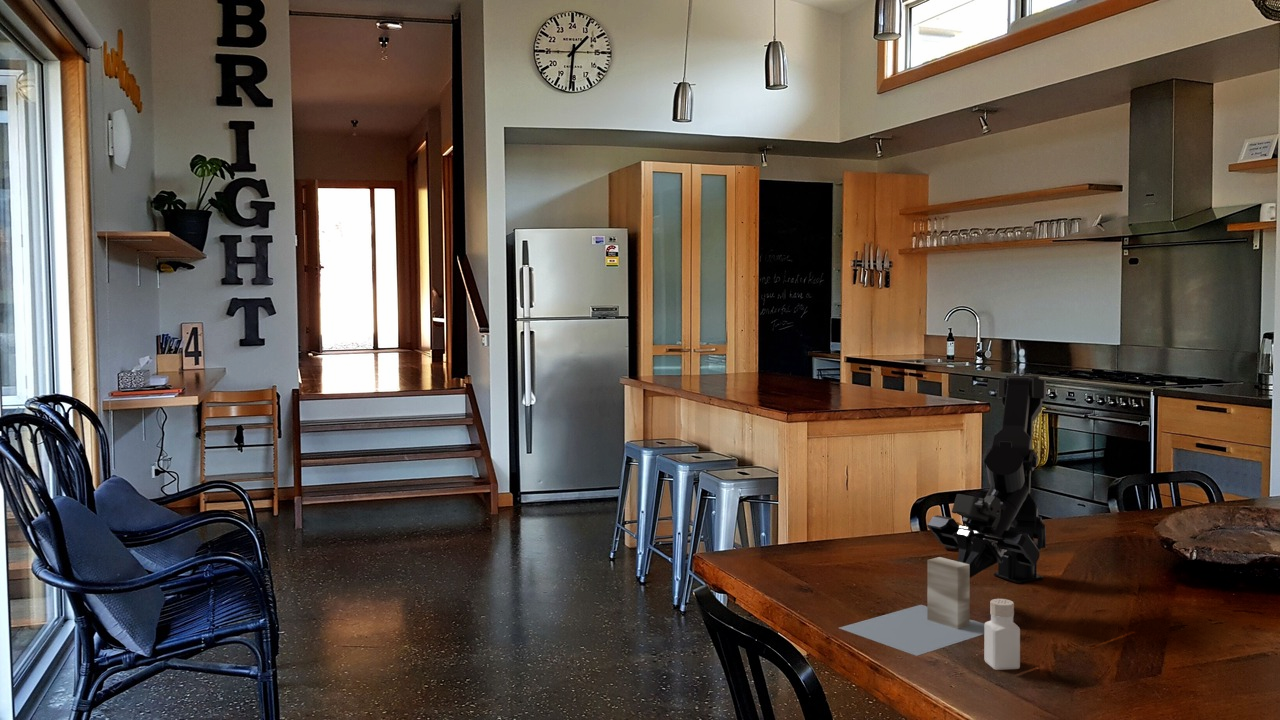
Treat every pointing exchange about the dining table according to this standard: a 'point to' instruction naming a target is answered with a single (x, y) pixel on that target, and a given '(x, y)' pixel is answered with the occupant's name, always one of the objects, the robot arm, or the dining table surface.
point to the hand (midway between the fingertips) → (958, 581)
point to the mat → (913, 631)
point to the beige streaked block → (948, 592)
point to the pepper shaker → (1002, 637)
